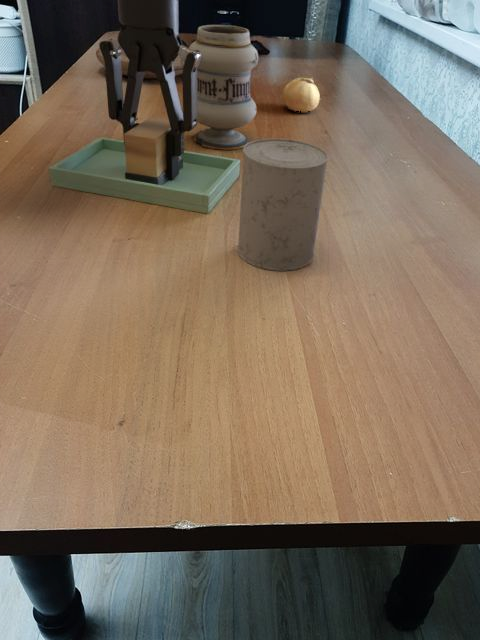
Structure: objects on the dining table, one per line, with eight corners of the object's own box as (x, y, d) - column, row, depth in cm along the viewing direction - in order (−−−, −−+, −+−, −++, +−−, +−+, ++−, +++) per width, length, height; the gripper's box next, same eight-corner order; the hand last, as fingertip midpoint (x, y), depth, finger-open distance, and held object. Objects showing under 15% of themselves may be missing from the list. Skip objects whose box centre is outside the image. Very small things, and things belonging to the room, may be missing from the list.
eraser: (158, 189, 81) (156, 139, 76) (125, 183, 81) (121, 133, 77) (183, 166, 88) (182, 120, 84) (153, 161, 89) (151, 115, 85)
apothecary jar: (174, 137, 103) (171, 23, 92) (223, 127, 110) (227, 20, 99) (218, 156, 96) (222, 37, 85) (268, 144, 103) (277, 32, 93)
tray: (51, 185, 81) (48, 167, 80) (101, 152, 93) (100, 136, 92) (208, 214, 78) (208, 195, 76) (239, 176, 90) (240, 159, 88)
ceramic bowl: (111, 60, 149) (109, 38, 146) (201, 68, 149) (201, 47, 146) (86, 79, 130) (83, 55, 127) (188, 89, 131) (188, 65, 128)
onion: (282, 114, 120) (285, 78, 116) (280, 104, 126) (283, 69, 122) (319, 117, 121) (324, 81, 116) (315, 107, 127) (319, 72, 123)
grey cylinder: (329, 255, 71) (346, 157, 63) (276, 279, 65) (287, 174, 58) (275, 228, 76) (284, 133, 68) (221, 247, 70) (225, 147, 63)
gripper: (225, -5, 72) (220, 174, 86) (95, -20, 75) (110, 156, 89) (207, 0, 66) (204, 192, 80) (66, -16, 69) (87, 172, 83)
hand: (155, 173), depth 85 cm, fingers closed on eraser, 5 cm apart
